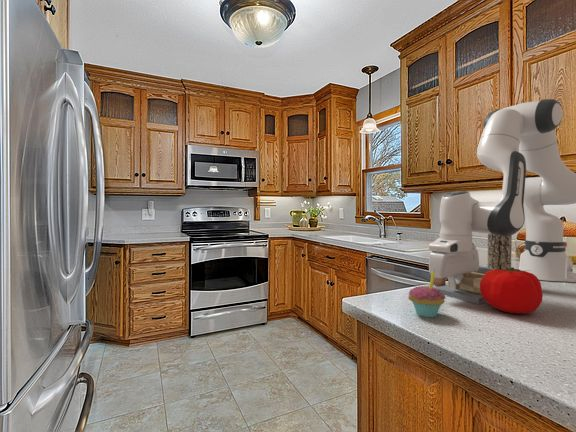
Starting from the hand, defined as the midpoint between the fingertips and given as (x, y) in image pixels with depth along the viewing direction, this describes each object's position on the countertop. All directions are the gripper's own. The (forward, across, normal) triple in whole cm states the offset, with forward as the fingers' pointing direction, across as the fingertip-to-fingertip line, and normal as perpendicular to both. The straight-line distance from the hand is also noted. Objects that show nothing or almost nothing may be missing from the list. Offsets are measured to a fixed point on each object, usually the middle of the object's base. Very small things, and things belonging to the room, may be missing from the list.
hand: (455, 288), depth 95 cm
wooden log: (+3, -25, 0) cm, 25 cm away
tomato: (+2, +1, +16) cm, 16 cm away
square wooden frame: (0, -8, +1) cm, 8 cm away
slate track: (+2, -7, +1) cm, 7 cm away
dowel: (+2, -8, -11) cm, 14 cm away
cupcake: (+2, +22, +6) cm, 23 cm away
